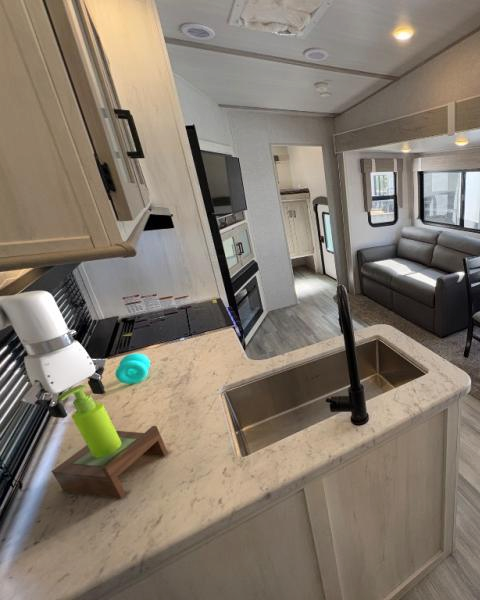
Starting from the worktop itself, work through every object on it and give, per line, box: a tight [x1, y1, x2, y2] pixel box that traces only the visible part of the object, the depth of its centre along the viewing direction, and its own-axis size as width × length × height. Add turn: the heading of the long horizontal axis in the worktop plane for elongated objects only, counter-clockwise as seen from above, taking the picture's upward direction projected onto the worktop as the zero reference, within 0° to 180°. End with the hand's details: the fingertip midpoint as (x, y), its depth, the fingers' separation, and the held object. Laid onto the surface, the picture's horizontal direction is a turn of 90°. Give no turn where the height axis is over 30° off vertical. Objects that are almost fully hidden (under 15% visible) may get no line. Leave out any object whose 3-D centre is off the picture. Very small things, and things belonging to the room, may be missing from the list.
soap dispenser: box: [58, 384, 122, 458], centre depth 79 cm, size 6×7×20 cm
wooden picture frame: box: [51, 425, 169, 499], centre depth 84 cm, size 18×14×10 cm
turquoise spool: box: [114, 353, 151, 385], centre depth 128 cm, size 10×10×10 cm
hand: (81, 404), depth 78 cm, fingers open, 8 cm apart
